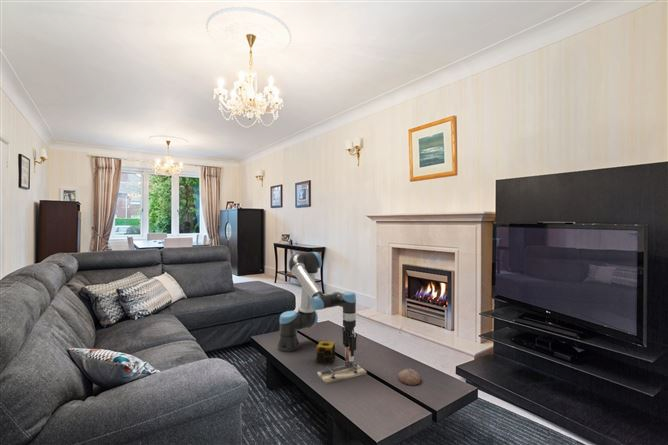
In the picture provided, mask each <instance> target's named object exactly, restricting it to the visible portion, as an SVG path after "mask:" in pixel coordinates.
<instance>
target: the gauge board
mask: <svg viewBox="0 0 668 445" xmlns="http://www.w3.org/2000/svg"><path fill="white" fill-rule="evenodd" d="M356 367H357V370H356V372H355V369H354V368H353V367H351V368H347V369H343V370H339V371H335V372H334V373H335V375H334V378H332V374H331V373H326V374H321V370H320V371H317V376H318V377H319V378H320V379H321V380H322V381H323V383H325V384H326V385H328V384H331V383H336V382H340V381H344V380H347V379H351V378H354V377H359V376H362V375H363V376H364V375H367V373H368V372H367V370H366V369H364V368H363V367H362V366H360V365H359V364H358V366H356Z"/></svg>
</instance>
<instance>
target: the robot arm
mask: <svg viewBox="0 0 668 445" xmlns="http://www.w3.org/2000/svg"><path fill="white" fill-rule="evenodd" d="M322 264H323V260H322V257H321V255H320V253H319V252H317V251H308V252H306V251H305V252H296V253H294V254H293V255H291V257H290V259H289V260H288V268H289V271H290V273H291V274H292V275H293V276H295V278H296V279H297V280H298V281H299V284H300V285H301V293H300V294H301V296H300V305H299V307H298V310H297V311H296V310H287V311H284V312H282V313H281V314H280V315H279V336H278V341H277V343H276V344H277V345H276V346H277V348H276V349H277V350H278V351H281V352H293V351H296V350H298V349H300V346H301V345H300V340H299V336H298V331H299V330H304V329H309V328H312V327H315V326H316V325H317V323H318V319H319V317H318V316H319V315H318V313H317V311H318V310H320V311H321V310H324V309H325V310H326V309H329V308H336V307H340V308H342V319H343V320H342V326H343V327H341V331H342V345H344V352H345V353H344V359H345V360H346V346H350V350H349V362H352V361H354V362H355V351H357V337H358V333H357V332H356V333H355V327H356V326H357V323H356V322H357V320H356V319H357V311H356V309H357V306H356V305H357V299H356V298H357V297H356V293H355V292H353V291H344V292H343V293H342V292H340V291H332V292H331V293H328V294H325V293H323V292H322V290H321V289H320V287H319V286H318V284H317V283H316V275H317V274H318V270H319V269H320V268H322Z"/></svg>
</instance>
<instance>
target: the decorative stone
mask: <svg viewBox="0 0 668 445" xmlns="http://www.w3.org/2000/svg"><path fill="white" fill-rule="evenodd" d="M421 378H422V377H421V374H420V373H419V372H417V371H416V370H415V369H413V368H406V369H405V368H404V369H403V370H401V371H400V372H399V373H398V375H397V379H398V381H399V382H400V383H401V382H402V384H403V383H405V384H404V385H406V384H408V385H407V386H417V385H416V384H418V385H419V384H420V383H421V382H420V381H422V379H421Z"/></svg>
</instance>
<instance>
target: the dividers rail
mask: <svg viewBox="0 0 668 445" xmlns="http://www.w3.org/2000/svg"><path fill="white" fill-rule="evenodd" d="M358 365H359V364H358V362H354V366H355V367H356V366H358ZM351 367H352V366H351V365H349V366H347V365H346V364H342V365H340V366H339V365H338V366H334V367H331V368H330V366H326V367H325V369H322V370H320V371H321V374H326V373H331V374H332V378H334V375H335V373H334V372H335V371H339V370H343V369H347V368H351Z"/></svg>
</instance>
